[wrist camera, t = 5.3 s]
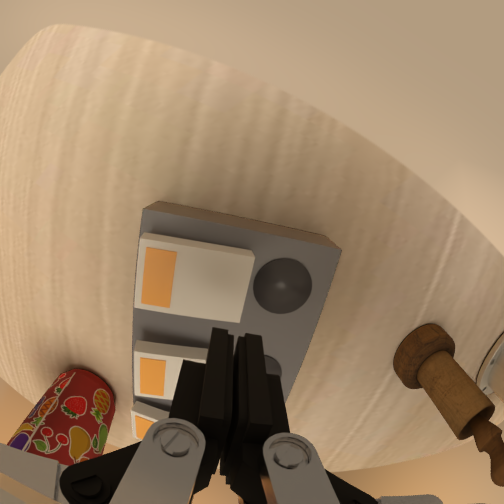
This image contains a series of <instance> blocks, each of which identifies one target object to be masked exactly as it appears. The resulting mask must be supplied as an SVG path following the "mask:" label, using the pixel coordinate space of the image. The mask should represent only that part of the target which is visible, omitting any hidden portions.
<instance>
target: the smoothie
mask: <svg viewBox="0 0 504 504" xmlns="http://www.w3.org/2000/svg"><path fill="white" fill-rule="evenodd" d="M114 413H115V404H114V398H113V393H112V392H111V390H110V388H109V387H108V386H107V384H106V383H105V382H104V381H103V380H101V379H100V378H99V377H98V376H96V375H95V374H93V373H91V372H89V371H86V370H83V369H72V370H70V371H68V372H64V373H61V374H60V375H59V376H58V378H57V379H56V380H55V381H54V383H53V384H52V385H51V386H50V388H49V389H48V390H47V391H46V393H45V394H44V395H43V396H42V398H41V399H40V400H39V402H38V403H37V404H36V405H35V407H34V408H33V409H32V411H31V412H30V414H29V415H28V416H27V417H26V419H25V420H24V422H23V423H22V424H21V425H20V427H19V428H18V430H17V431H16V432H15V434H14V435H13V436H12V438H11V439H10V441H9V442H8V444H7V445H8V446H10V447H13V448H16V449H19V450H22V451H25V452H28V453H32V454H35V455H38V456H42V457H46V458H49V459H53V460H57V461H59V463H60V464H63V465H67V466H71V465H73V464H75V463H79V462H82V461H85V460H89V459H92V458H95V457H98V456H101V455H102V454H103V451H104V447H105V443H106V440H107V436H108V433H109V430H110V426H111V423H112V420H113V416H114Z"/></svg>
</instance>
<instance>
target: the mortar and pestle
mask: <svg viewBox="0 0 504 504" xmlns="http://www.w3.org/2000/svg"><path fill="white" fill-rule="evenodd" d="M454 353H455V343H454V341H453V339H452V338H451V337H450V336H449V335H448V334H447V333H446V332H445V331H444V330H443V329H442V328H441V327H440V326H438V325H435V324H428V325H424V326H422V327H420V328H418V329H416V330H415V331H413V332H412V333H410V334H409V335H408V336H407V337H406V338H405V339H404V341H403V342H402V343H401V345H400V346H399V348H398V350H397V352H396V354H395V357H394V364H393V365H394V370H395V372H396V374H397V375H398V377H399V378H400V380H401V381H402V382H403V384H404V385H405V386H406V387H408V388H410V389H419V388H424V390H425V391H426V393H427V394H428V395H429V397H430V398H431V400H432V401H433V403H434V404H435V406H436V407H437V408H438V410H439V411H440V413H441V414H442V416H443V417H444V419H445V420H446V422H447V423H448V425H449V426H450V428H451V429H452V431H453V432H454V434H455V435H456V437H457V439H459V440H464V439H466V438H468V437H470V436H472V435H474V439H475V442H476V445H477V448H478V450H479V452H483V451H485V452H487V453H488V454H489V455H490V459H491V479H492V481H493V482H494V483H495V484H496V485H498V486H502V487H503V486H504V442H503V440H502V438H501V434H502V430H501V429H500V428H499V427H497V426H496V425H494V424H493V423H491V422H489V419H490V418H491V417H492V415H493V413H494V411H495V405H494V404H493V403H492V402H491V401H490V400H489V398H488V397H487V396H486V395H485V394H484V393H483V392H482V390H481V389H480V388H479V387H478V386H477V385H476V384H475V382H474V381H473V380H472V379H471V378H470V377H469V376H468V375H467V373H466V372H465V371H464V370H463V369H462V368H461V367H460V366H459V364H458V363H457V362H456V361H455V360H454V359H453V357H454Z"/></svg>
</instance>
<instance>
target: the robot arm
mask: <svg viewBox="0 0 504 504" xmlns="http://www.w3.org/2000/svg"><path fill="white" fill-rule="evenodd" d="M233 353H234V355H233ZM476 385H477V386H478V387H479V388H480V389H481V390H482V392H483V393H484V394H485V395H488V394H491V393H494V392H495V394H496V395H497V396H498V397H499V398H500V399H501V400H502V401H503V403H504V333H503V334H502V336H501V337H500V338H499V339H498V341H497V342H496V343H495V345H494V346H493V348H492V349H491V351H490V352H489V354H488V356H487V357H486V359H485V361H484V363H483V365H482V367H481V369H480V372H479V374H478V378H477V384H476ZM219 460H220V475H223V476H224V475H225V476H226V484H230V488H231V490H232V491H234V492H235V493H236V494H237V495H238V502H239V504H443V502H442V501H441V500H440V499H439V498H438V497H436V496H434V495H428V494H427V495H415V496H414V495H413V496H381V497H380V498H378V499H374V498H373V497H372V496H370V495H369V494H367V493H365V492H363V491H361V490H359V489H358V488H356V487H354V486H352V485H350V484H349V483H347V482H345V481H344V480H342V479H340V478H338V477H337V476H335V475H334V474H332V473H330V472H329V471H327V470H326V469H324V467H323V465H322V462H321V460H320V458H319V456H318V453H317V451H316V449H315V447H314V446H313V444H312V443H311V442H309V441H308V440H307V439H306V438H304V437H302V436H300V435H297V434H293V433H290V430H289V424H288V418H287V413H286V407H285V402H284V396H283V391H282V385H281V379H280V376H279V375H275V374H267V373H266V365H265V357H264V349H263V341H262V336H261V335H256V334H250V333H245V335H244V337H243V336H238V339H237V343H236V347H235V351H234V335H231V334H228V330H227V329H222V328H217V327H212V332H211V337H210V342H209V348H208V353H207V358H206V364H204V363H199V362H194V361H190V360H185V359H183V362H182V365H181V369H180V373H179V377H178V381H177V385H176V389H175V393H174V397H173V401H172V405H171V409H170V413H169V417H168V418H165V419H162V420H158V421H157V422H155V423H153V424H152V425H151V426H150V427H149V429H148V430H147V432H146V434H145V436H144V438H143V440H142V441H140V442H138V443H135V444H133V445H130V446H127V447H125V448H122V449H119V450H116V451H113V452H111V453H107V454H104V455H101V456H98V457H95V458H92V459H89V460H85V461H82V462H79V463H75V464H73V465H71V466H67V465H63V464H60V463H59V461H57V460H53V459H49V458H46V457H42V456H38V455H35V454H32V453H28V452H25V451H22V450H19V449H16V448H13V447H10V446H8V445H5V444H2V443H0V504H192V500H193V497H194V494H195V493H197V492H199V491H201V490H202V489H204V488H206V487H208V485H209V482H210V479H211V475H212V474H215V472H216V469H217V466H218V463H219ZM479 504H480V503H479Z"/></svg>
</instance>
